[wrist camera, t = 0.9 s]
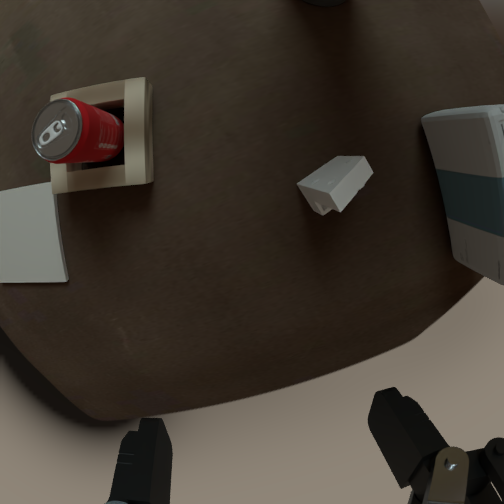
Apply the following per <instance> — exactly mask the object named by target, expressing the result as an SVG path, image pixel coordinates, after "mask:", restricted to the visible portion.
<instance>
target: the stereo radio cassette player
mask: <svg viewBox="0 0 504 504" xmlns="http://www.w3.org/2000/svg"><path fill="white" fill-rule="evenodd" d="M421 123H422V126H423V129H424V132H425V135H426V138H427V141H428V144H429V147H430V151H431V154H432V158H433V161H434V165H435V169H436V172H437V176H438V180H439V184H440V189H441V193H442V197H443V202H444V207H445V212H446V216H447V222H448V228H449V233H450V240H451V246H452V253H453V257H454V259H455V260H457V261H458V262H459V263H461V264H463V265H465V266H467V267H468V268H470V269H472V270H474V271H476V272H478V273H479V274H481V275H483V276H485V277H487V278H489V279H491V280H493V281H495V282H497V283H499V284H501V285H504V105H487V106H475V107H465V108H455V109H447V110H441V111H436V112H433V113H430V114H427V115H424V116H423V117H422V118H421Z"/></svg>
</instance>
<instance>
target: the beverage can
mask: <svg viewBox="0 0 504 504" xmlns="http://www.w3.org/2000/svg"><path fill="white" fill-rule="evenodd" d="M31 138H32V144H33V147H34V149H35V151H36V152H37V154H38V155H39V156H40V157H42V158H43V159H45V160H46V161H48V162H50V163H54V164H65V163H84V162H103V161H108V160H110V159H112V158H114V157H115V156H116V155H117V154H118V153H119V152H120V151H121V150H122V148H123V146H124V124H123V122H122V121H121V120H120V119H119V118H118V117H116V116H115V115H112V114H110V113H108V112H105V111H103V110H101V109H98V108H96V107H94V106H91V105H89V104H86V103H84V102H82V101H79V100H77V99H74V98H69V97H65V98H60V99H56V100H53V101H51V102H49V103H48V104H46V105H45V106H44V107H43V108H42V109H41V110H40V111H39V113H38V114H37V116H36V118H35V120H34V123H33V126H32V132H31Z"/></svg>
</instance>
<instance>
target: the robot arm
mask: <svg viewBox="0 0 504 504" xmlns="http://www.w3.org/2000/svg"><path fill="white" fill-rule="evenodd" d="M303 1H305V2H308V3H310V4H314V5H318V6H326V7H328V6H336V5H339V4H341V3H343V2H345V1H346V0H303ZM368 425H369V428H370V431H371V433H372V435H373V437H374V438H375V440H376V442H377V444H378V446H379V448H380V450H381V452H382V454H383V456H384V457H385V459H386V461H387V463H388V465H389V467H390V469H391V471H392V472H393V475H394V476H395V478H396V480H397V482H398V484H399V486H400V488H401V489H402V488H404V487H407V486H409V485H411V487H412V489H413V490H412V491H411V494H410V498H409V501H408V504H504V438H494V439H492V440H490V441H489V442H488V443H487V445H486V446H485V448H482V449H477V450H473V451H467V452H465V451H464V450H462V449H460V448H458V447H450V446H449V445H448V444H447V443H446V441H445V440H444V438H443V437H442V436H441V434H440V433H439V431H438V430H437V429H436V427H435V426H434V424H433V423H432V422H431V420H429V418H428V416H427V415H426V413H424V411H423V409H422V408H421V407H420V405H419V404H418V403H417V402H416V401H415V400H413V399H412V398H410V397H408V396H405V397H402V395H401V394H400V392H399V391H398V390H397V388H395V387H392V388H388V389H384V390H381V391H377V392H376V393H375V395H374V398H373V402H372V405H371V409H370V412H369V415H368ZM172 454H173V453H172V445H171V441H170V438H169V435H168V433H167V430H166V427H165V425H164V422H163V420H162V418H141V420H140V424H139V429H138V431H129V432H128V433H127V434H126V436H125V437H124V438H123V439H122V441H121V445H120V450H119V455H118V459H117V464H116V469H115V473H114V478H113V483H112V488H111V493H110V497H109V500H108V501H107V503H106V504H170V487H171V471H172V456H173V455H172ZM490 482H492V483H493V485H494V487H495V488H496V490H497V491H498V493H499V495H500V497H501V499H502V501H501V500H500V498H499V496H498V495H497V493H496V491H495V489H494V488H493V486H492V484H491V483H490Z"/></svg>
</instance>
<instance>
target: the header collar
mask: <svg viewBox="0 0 504 504" xmlns="http://www.w3.org/2000/svg"><path fill="white" fill-rule="evenodd" d="M65 97H69V98H74V99H77V100H79V101H82V102H84V103H86V104H89V105H91V106H94V107H96V108H98V109H101V110H108V109H115V108H121V107H124V153H125V165H118V166H109V167H101V168H94V169H86V170H82V163H65V164H54V163H50V170H51V186H52V194H58V193H65V192H73V191H81V190H89V189H97V188H107V187H116V186H127V185H138V184H147V183H150V182H153V181H154V172H153V137H152V99H153V86H152V85H151V84H150V82H149V81H148V80H147V79H146V78H145V77H141V78H134V79H127V80H121V81H115V82H109V83H103V84H98V85H93V86H88V87H84V88H79V89H75V90H71V91H67V92H63V93H59V94H55V95H51V101H53V100H56V99H60V98H65Z"/></svg>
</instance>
